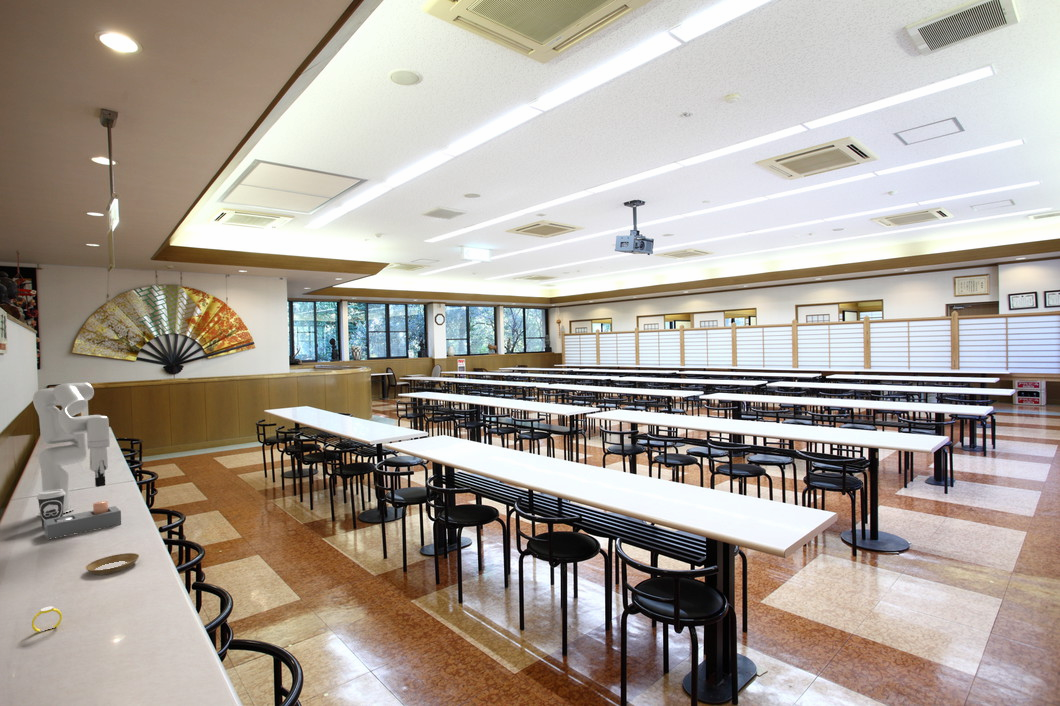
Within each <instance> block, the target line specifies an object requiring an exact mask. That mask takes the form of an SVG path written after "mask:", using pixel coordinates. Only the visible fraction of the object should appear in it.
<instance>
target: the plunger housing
mask: <svg viewBox="0 0 1060 706" xmlns="http://www.w3.org/2000/svg"><path fill="white" fill-rule="evenodd" d="M66 517H73V519H71V520H65V521H60V522H57V520H58V519H61V518H66ZM119 524H120V525H122V510H121V509H119V508H118V507H117V506H115V505H114V506H108V512H106V513H101V514H96V515H94V513H93V510H89V511H82V512H78V513H73V514H68V515H63V516H62V517H57V518H52V519H46V520H44V527H43V530H44V531H43V535H44V534H45V535H44V536H45V538H46V537H47V538H46V539H47V540H48V539H50V538H55V537H60V536H64V535H69V536H71V535H70V534H74V533H78V534H81V533H80V532H83V533H86V532H85V531H87V532H91V531H90V530H92V531H95V530H94V529H97V530H100V529H99V528H101V529H105V528H104V527H106V528H110V527H109V526H111V527H114V525H115V526H119ZM74 535H75V534H74ZM64 537H65V536H64ZM60 538H61V537H60ZM55 539H56V538H55Z"/></svg>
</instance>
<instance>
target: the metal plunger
mask: <svg viewBox="0 0 1060 706" xmlns="http://www.w3.org/2000/svg"><path fill="white" fill-rule="evenodd" d="M71 519H73V517H66V518H61V519H58V520H57V522H60V521H65V520H71Z"/></svg>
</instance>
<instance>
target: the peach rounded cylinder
mask: <svg viewBox="0 0 1060 706" xmlns="http://www.w3.org/2000/svg"><path fill="white" fill-rule="evenodd" d="M92 504H93V505H92V507H93V509H92V511H93V513H94V515H96V514H101V513H106V512H108V507H109V503H108V500H101V501H96V502H94V503H92Z"/></svg>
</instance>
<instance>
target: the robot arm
mask: <svg viewBox="0 0 1060 706" xmlns="http://www.w3.org/2000/svg"><path fill="white" fill-rule="evenodd" d="M94 395H95V390H94V387H93V386H92V385H91V384H90V383H88V382H85V381H84V382H68V383H60V384H58V385H55V387H49V388H42V389H38V390H37V391H35V392H34V393H33V396H32V402H33V405H34V408H35V410H36V413H37V415H38V421H39V429H40V430H39V432H40V438H41V442H42V444H45V445H55V444H56V445H57V444H64V443H70V444H66V445H58V446H51V447H47V448H44V449H42V450H40V452H39V453H38V455H37V456H38V457H37V459H38V463H39V466H40V468H39V469H40V474H41V490H42V491H41V492H43V491H47V490H54V489H63V491H64V492H65V493H66V494H65V495H64V505H63V513H65V514H67V513H66V512H68V513H70V512H69V511H71V512H73V511H74V510H75V507H74V506H70V485H69V484H70V483H69V473H68V472H67V470H66V469H64V468H63V466H68V465H74V464H80V463H83V462H84V461H85V460H86V458H87V449H88V450H89V470H90V471H92V472H94V476H95V477H94V481H95V482H94V484H95V485H94V486H95V487H96V488H99V487H105V486H106V473H105V472H106V470H108V463H109V462H108V448H109V447H110V445H111V443H110V441H111V440H110V425H109V424H110V423H109V422H110V421H109V420H110V419H109V417H108V416H106V415H101V414H91V415H82V416H76V415H78V414H81V413H82V412H84V411H85V409H87V407H88V401H90V400H91V399H93V397H94ZM57 406H60V407H61V410H60V408H58V407H57ZM86 438H87V439H86ZM86 442H87V443H86ZM73 509H74V510H73ZM72 510H73V511H72ZM38 517H41V515H40V511H39V512H38Z"/></svg>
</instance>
